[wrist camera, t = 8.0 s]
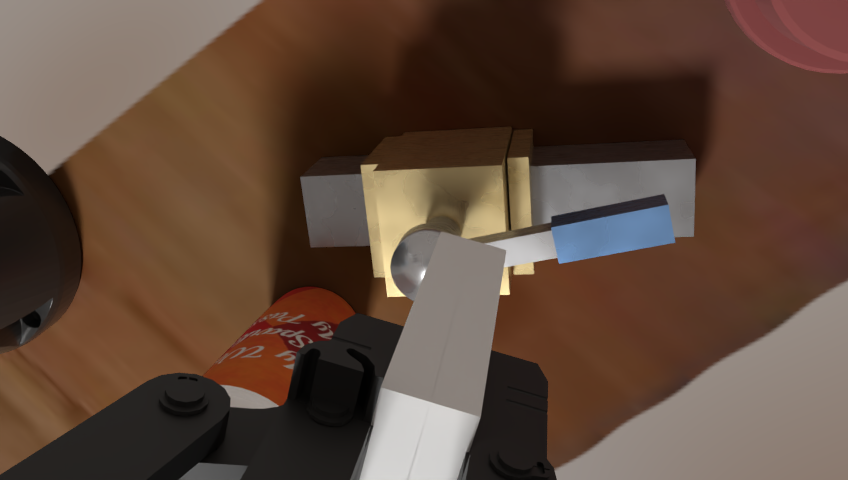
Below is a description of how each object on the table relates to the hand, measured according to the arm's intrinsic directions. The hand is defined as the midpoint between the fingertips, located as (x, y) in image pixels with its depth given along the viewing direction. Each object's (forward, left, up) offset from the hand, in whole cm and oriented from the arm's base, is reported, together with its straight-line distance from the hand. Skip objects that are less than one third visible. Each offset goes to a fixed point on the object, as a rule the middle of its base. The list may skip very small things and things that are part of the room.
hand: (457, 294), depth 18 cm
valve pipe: (-1, -5, -27) cm, 27 cm away
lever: (+1, -4, -16) cm, 16 cm away
